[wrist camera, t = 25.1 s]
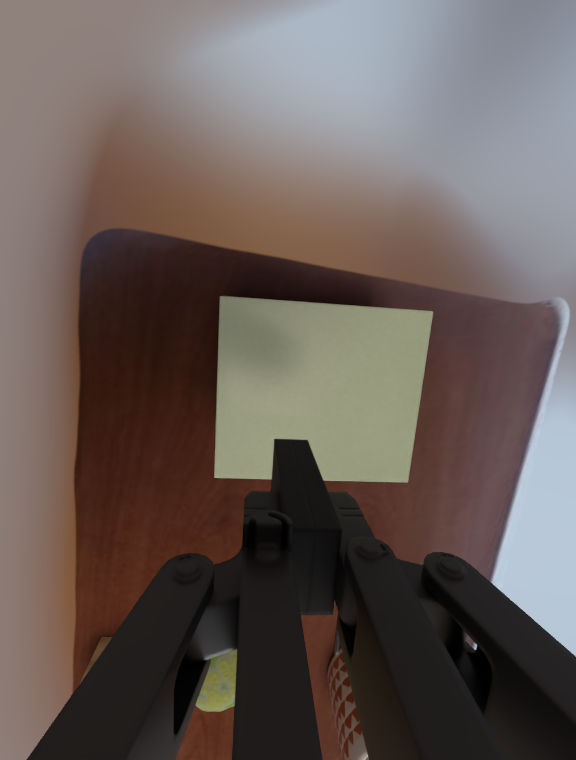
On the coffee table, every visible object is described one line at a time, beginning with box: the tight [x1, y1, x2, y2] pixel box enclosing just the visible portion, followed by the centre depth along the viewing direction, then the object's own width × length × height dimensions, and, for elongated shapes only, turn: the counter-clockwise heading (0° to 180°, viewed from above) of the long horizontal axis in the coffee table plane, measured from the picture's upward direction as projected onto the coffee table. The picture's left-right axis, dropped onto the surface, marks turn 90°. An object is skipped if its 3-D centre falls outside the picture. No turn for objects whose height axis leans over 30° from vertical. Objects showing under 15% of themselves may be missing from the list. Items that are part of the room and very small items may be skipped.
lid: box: [214, 296, 433, 482], centre depth 30 cm, size 17×15×1 cm
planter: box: [327, 647, 369, 760], centre depth 46 cm, size 14×14×13 cm
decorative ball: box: [196, 649, 237, 712], centre depth 44 cm, size 10×10×10 cm
